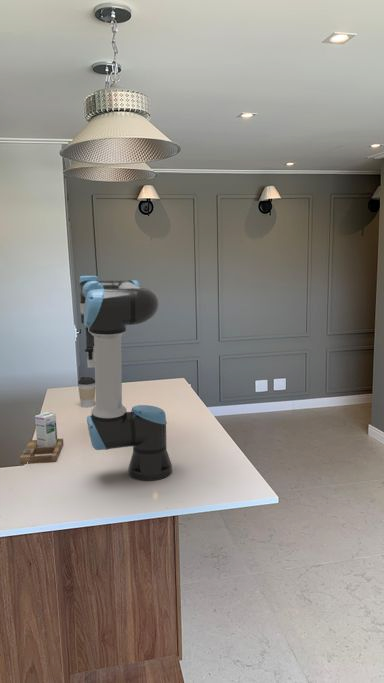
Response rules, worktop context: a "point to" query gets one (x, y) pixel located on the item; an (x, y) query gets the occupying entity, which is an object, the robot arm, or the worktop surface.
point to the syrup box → (46, 429)
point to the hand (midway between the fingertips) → (92, 364)
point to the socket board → (33, 449)
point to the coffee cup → (87, 391)
